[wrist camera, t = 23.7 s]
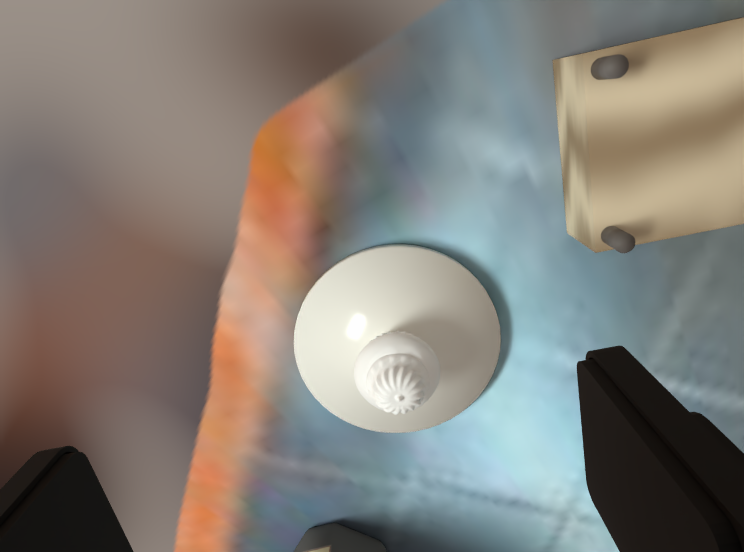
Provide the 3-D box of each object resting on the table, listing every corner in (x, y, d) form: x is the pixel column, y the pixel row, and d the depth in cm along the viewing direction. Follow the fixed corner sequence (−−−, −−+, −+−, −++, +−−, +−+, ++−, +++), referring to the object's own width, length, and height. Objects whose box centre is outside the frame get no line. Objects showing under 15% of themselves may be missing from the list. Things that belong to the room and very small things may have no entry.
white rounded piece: (351, 316, 38) (347, 363, 31) (432, 310, 38) (445, 355, 31) (359, 387, 40) (357, 444, 33) (436, 381, 40) (448, 437, 33)
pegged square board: (734, 199, 36) (815, 222, 29) (567, 233, 37) (609, 262, 30) (740, 17, 32) (834, -3, 26) (552, 60, 33) (597, 50, 26)
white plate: (508, 405, 42) (512, 414, 41) (323, 438, 43) (321, 447, 42) (482, 223, 37) (486, 227, 36) (272, 266, 38) (269, 271, 37)
